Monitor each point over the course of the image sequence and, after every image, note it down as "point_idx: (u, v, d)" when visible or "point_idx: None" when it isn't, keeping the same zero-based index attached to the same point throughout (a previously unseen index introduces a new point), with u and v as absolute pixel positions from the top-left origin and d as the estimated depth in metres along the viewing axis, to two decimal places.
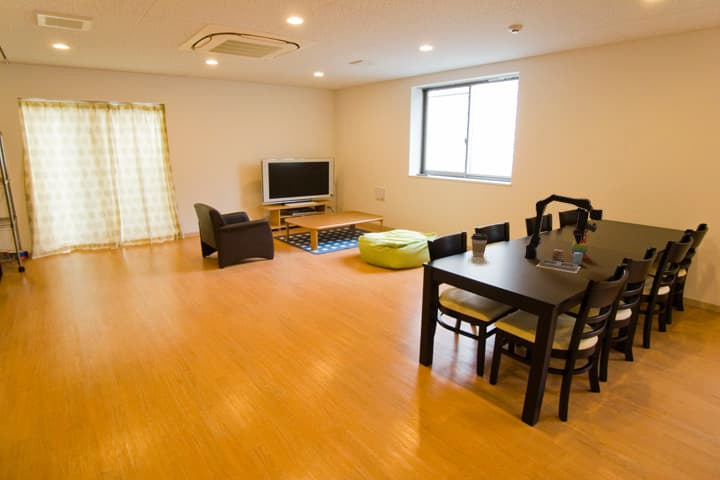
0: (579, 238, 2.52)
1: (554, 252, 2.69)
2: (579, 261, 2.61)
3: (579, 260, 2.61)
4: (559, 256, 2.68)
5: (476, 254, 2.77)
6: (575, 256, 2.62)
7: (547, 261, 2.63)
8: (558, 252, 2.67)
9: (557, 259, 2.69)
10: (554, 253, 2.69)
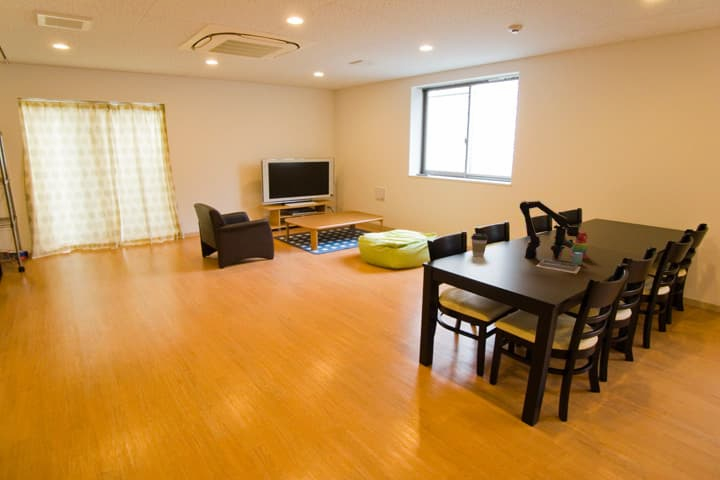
0: (557, 253, 2.67)
1: None
2: (579, 261, 2.61)
3: (579, 260, 2.61)
4: (559, 256, 2.68)
5: (476, 254, 2.77)
6: (575, 256, 2.62)
7: (547, 261, 2.63)
8: None
9: (557, 259, 2.69)
10: None
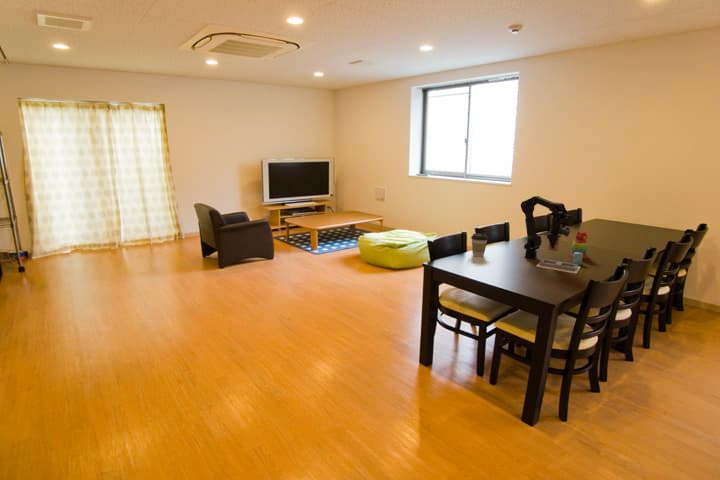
0: (553, 242, 2.54)
1: None
2: (579, 261, 2.61)
3: (579, 260, 2.61)
4: (556, 245, 2.55)
5: (476, 254, 2.77)
6: (575, 256, 2.62)
7: (547, 261, 2.63)
8: None
9: (553, 248, 2.57)
10: None
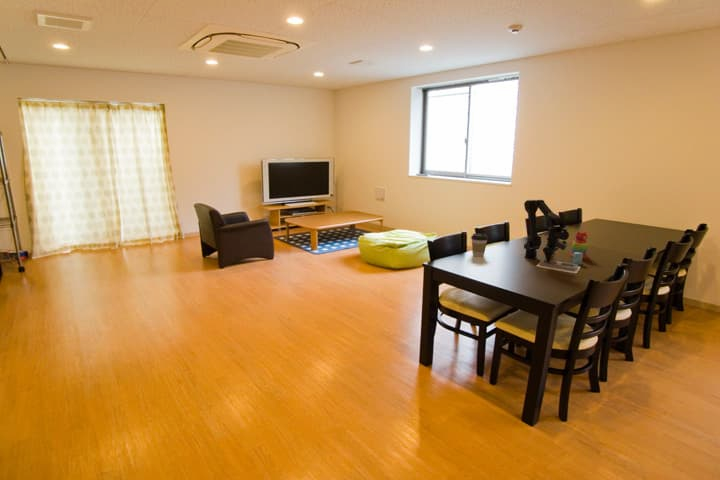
0: (549, 256, 2.53)
1: None
2: (579, 261, 2.61)
3: (579, 260, 2.61)
4: (552, 260, 2.56)
5: (476, 254, 2.77)
6: (575, 256, 2.62)
7: None
8: (551, 256, 2.56)
9: (550, 263, 2.57)
10: None
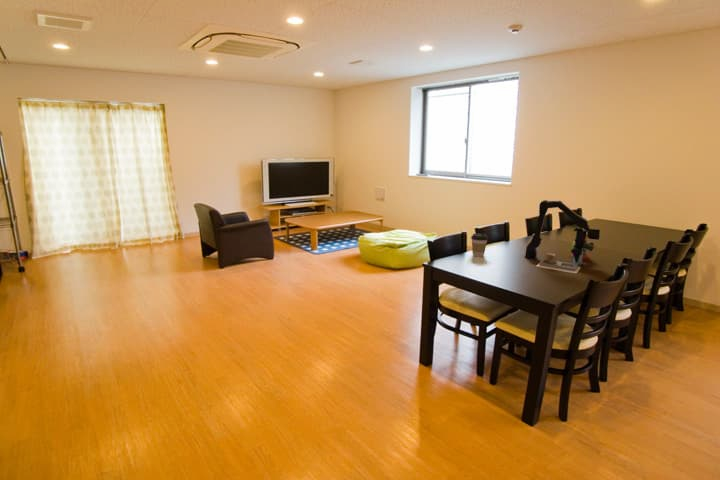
0: (577, 256, 2.60)
1: (546, 256, 2.57)
2: (579, 261, 2.61)
3: (579, 260, 2.61)
4: (552, 260, 2.56)
5: (476, 254, 2.77)
6: None
7: None
8: (551, 256, 2.56)
9: (550, 263, 2.57)
10: (546, 257, 2.57)
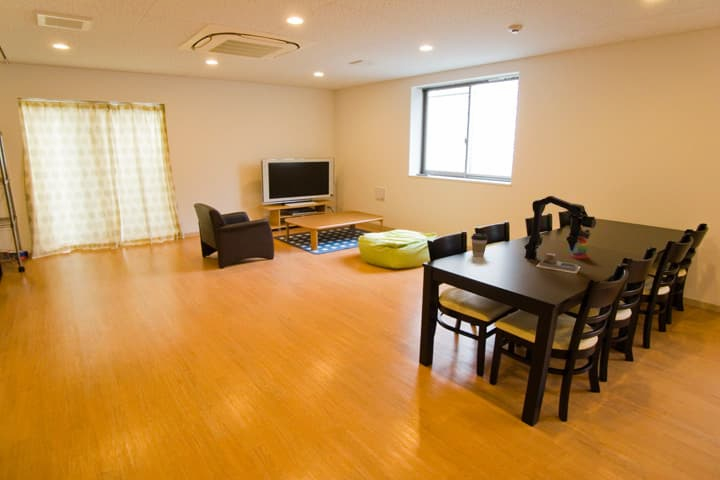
0: (573, 244, 2.49)
1: (546, 256, 2.57)
2: (575, 249, 2.51)
3: (575, 248, 2.51)
4: (552, 260, 2.56)
5: (476, 254, 2.77)
6: None
7: None
8: (551, 256, 2.56)
9: (550, 263, 2.57)
10: (546, 257, 2.57)
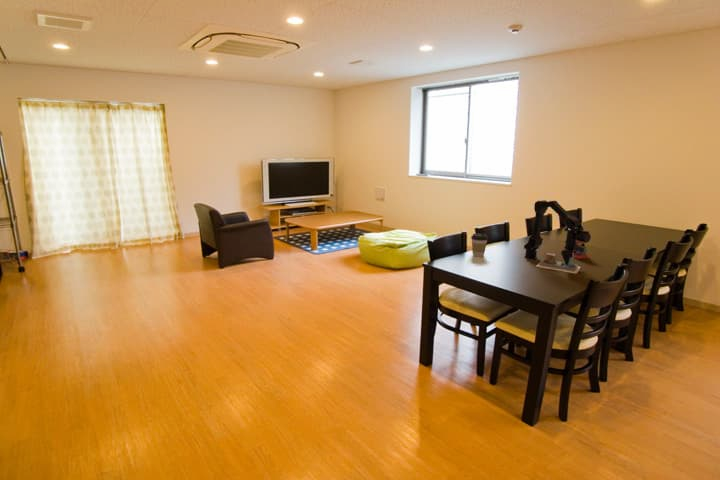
0: (567, 258, 2.47)
1: (546, 256, 2.57)
2: (570, 265, 2.50)
3: (570, 264, 2.50)
4: (552, 260, 2.56)
5: (476, 254, 2.77)
6: None
7: None
8: (551, 256, 2.56)
9: (550, 263, 2.57)
10: (546, 257, 2.57)
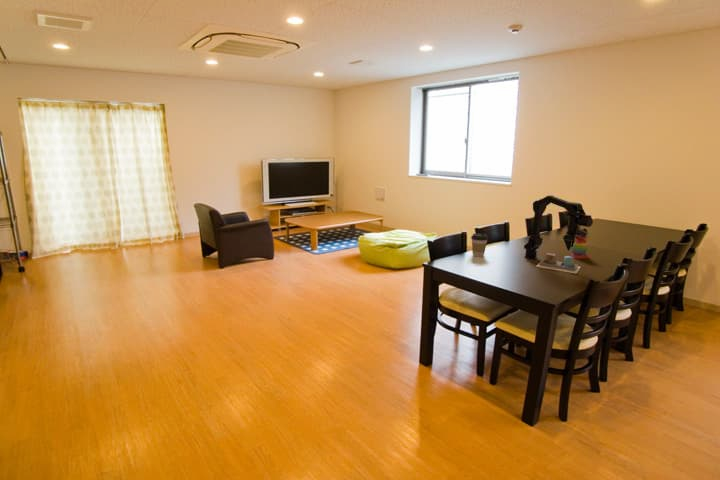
0: (569, 244, 2.45)
1: (546, 256, 2.57)
2: (570, 265, 2.50)
3: (570, 264, 2.50)
4: (552, 260, 2.56)
5: (476, 254, 2.77)
6: (565, 260, 2.51)
7: None
8: (551, 256, 2.56)
9: (550, 263, 2.57)
10: (546, 257, 2.57)
